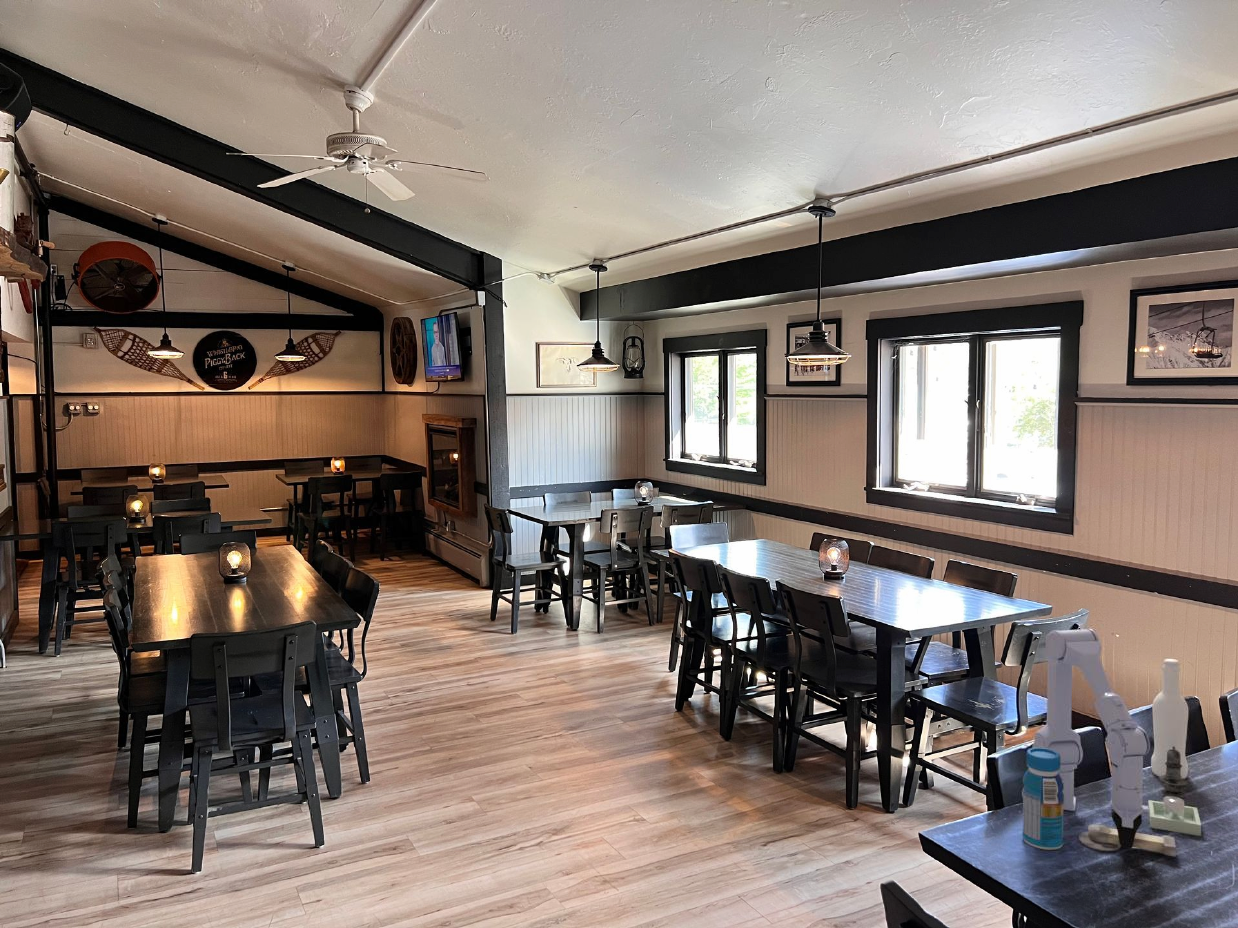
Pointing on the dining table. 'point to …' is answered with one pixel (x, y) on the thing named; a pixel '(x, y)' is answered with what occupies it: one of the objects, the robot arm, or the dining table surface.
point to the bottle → (1169, 720)
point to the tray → (1187, 826)
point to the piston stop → (1173, 808)
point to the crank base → (1097, 843)
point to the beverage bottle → (1043, 800)
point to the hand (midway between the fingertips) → (1126, 846)
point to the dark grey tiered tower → (1173, 776)
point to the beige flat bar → (1140, 841)
